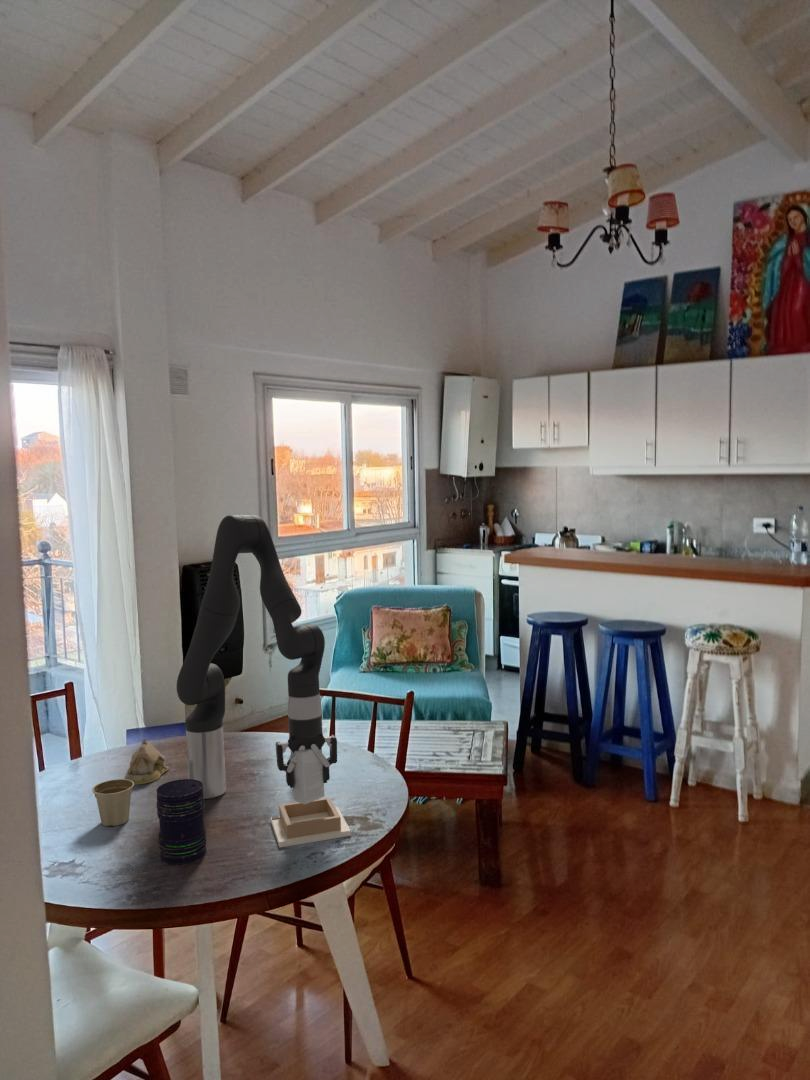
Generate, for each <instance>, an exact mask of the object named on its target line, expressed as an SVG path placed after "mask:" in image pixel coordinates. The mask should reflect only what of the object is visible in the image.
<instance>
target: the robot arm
mask: <svg viewBox="0 0 810 1080" xmlns="http://www.w3.org/2000/svg"><path fill="white" fill-rule="evenodd" d="M239 554H252V555H253V556H254V557H255V559H256V560H257V562H258V564H259V567H260V568H259V569H260V581H259V594H260V597H261V600H262V603H263V605H264V606H265V608H266V611H267V612H268V614H269V617H270V618H271V620H272V624H273V629H274V635H275V640H276V645H277V648H278V651H279V653H280V654H281V655H282V656H283V657H284V658H285V659H287V660H290V661H291V660H293V661H294V660H298V659H300V662H299V664H297V665H296V666H295V667H293V668H291V669H290V670H289V671H288V672H287V692H288V693H287V694H288V697H287V698H288V699H287V715H288V733H289V735H288V739H287V741H284V742H280V741H277V742H275V756H276V766H277V768H278V771H280V772H282V771H283V772H285V783H286V784H287V786H288V787H289V788H290V789H293V788H294V782H293V771H292V770H293V768H294V766H295V764H297V759H296V758H297V753H296V754H295V755H294V757H293V758H292V757H291V754H290V755H289V756H288V757H289V758H288V760H287V762H286V763H285V761H284V753H286V751H287V748H289V750H290V752H291V751H292V752H293V753H295V751H297V752H298V751H304V750H305V749H312V750H313V751H314V752H315V754H316V755H317V756H318V758H319V759H320V760H321V762H322V763H323V778H324V784H327V783H328V781H330V779H331V778H330V777H331V776H330V766H332V765H333V764H336V763H338V739H337V737H336V736H335V735H334V734H331V735H329V736H324V733H323V732H324V731H323V711H322V699H321V693H320V678H319V677H320V672H321V671H320V670H321V668H322V667H321V666H322V661H323V657H324V653H325V645H326V640H325V639H326V638H325V635H324V633H323V630H322V629H321V628H320V626H318V625H316V624H304V625H301V626H296V627H294V626H293V623H294V622H296V621H298V619H300V617H301V616H302V607H301V606H300V604H299V601H298V600H297V597H296V595H295V594H294V593H293V591H292V589H291V587H290V584H289V583H288V580H287V578H286V576H285V574H284V572H283V568H282V566H281V563H280V558H279V556H278V553H277V550H276V547H275V544H274V541H273V538H272V534H271V533H270V530H269V527H268V525H267V522H265V520H264V519H263V518H262V517H260V516H258V515H255V514H229V515H226V516H225V517H223V518H222V520H221V521H220V522H219V525H218V528H217V532H216V537H215V543H214V547H213V553H212V560H211V566H210V571H209V574H208V579H207V584H206V586H205V591H204V594H203V597H202V601H201V604H200V608H199V612H198V615H197V620H196V625H195V627H194V630H193V634H192V638H191V640H190V643H189V647H188V650H187V653H186V655H185V658H184V661H183V663H182V665H181V667H180V671H179V672H178V676H177V680H176V694H177V697H178V698H179V700H180V701H181V703H183V704H184V705H185V706H186V705H187V706H194V705H195V708H194V710H192V712H190V714H189V715H188V716H187V717H186V718H185V736H186V753H187V754H186V755H187V758H186V759H187V762H186V763H187V774H188V775H187V777H188V778H187V779H194V780H198V781H201V782H202V783H203V792H204V800H205V799H207V800H208V799H213V798H216V797H220V796H222V795H223V794H225V793H226V792H227V780H226V779H227V778H226V763H225V760H226V759H225V758H226V757H225V745H224V725H223V724H224V723H223V721H224V718H225V713H226V683H225V675H224V674H223V671H222V669H221V668H220V667H219V666H218V665H217V664H215V663H211V662H212V660H213V659H214V656H216V654H217V653H218V651H219V650H220V648H221V647H222V646H223V644H224V643H225V641H227V639H228V638H229V637H230V635H231V633H232V632H233V630H234V628H235V624H236V622H237V618H238V615H239V613H240V607H241V597H240V593H239V589H238V588H237V587H238V586H237V585H236V581H235V577H234V570H235V564H236V561H237V558H238V555H239ZM325 743H326V744H327V747H329V757H327V758H326V756H325V755H324V753H323V752H322V753H321V751H320V750H321V748H322V749H323V746H324V745H325Z"/></svg>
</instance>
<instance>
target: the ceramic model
mask: <svg viewBox="0 0 810 1080" xmlns="http://www.w3.org/2000/svg"><path fill="white" fill-rule="evenodd" d="M166 760H167V759H166V756H164V754H162V753H161V752H160V751H159V750H158V749H157V748H155V747H154V746H153V745H152V743H150V742H149V741H148V739H142V740H141V744H140V746H139V747H138V748H137V750H136V751H134V752H133V753H132V755H131V759H130V763H129V768H128V769H127V771H126V773H125V779H127V780H131V781H133V782H134V786H135V785H145V784H149V783H152V782H155V781H157V780H158V779H160V778H161V776H162V775H164V774H165V773H166V772H168V771H169V770H170V769H169V766H167V765H165V762H166Z"/></svg>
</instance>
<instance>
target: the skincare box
mask: <svg viewBox="0 0 810 1080" xmlns="http://www.w3.org/2000/svg"><path fill="white" fill-rule="evenodd" d="M320 751H321V753H323V747H322V748H321V750H320ZM296 753H297V758H296V759H297V764H295V766H294V768H293V770H292V771H293V782H294V788H292V793H293V795H292V796H293V801H295V802H299V803H302V804H304V805H305V804H307V803H310V802H312V801H315V800H317V799H321V798H325V783H324V778H323V763H322V762H321V760H320V759H319V758H318V756H317V755H316V754H315V752H314V751H313V750H312V749H305V750H304V751H298V752H297V751H295V753H293V752H292V751H291V750H290V755H291V757H292V758H293V757H294V755H295V754H296Z"/></svg>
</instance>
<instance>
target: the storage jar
mask: <svg viewBox="0 0 810 1080" xmlns="http://www.w3.org/2000/svg"><path fill="white" fill-rule="evenodd" d="M205 807H206V806H205V799H204V792H203V783H202V782H201V781H198V780H194V779H188V778H184V779H183V778H182V779H176V780H175V779H174V780H171V781H168V782H165V783H163V784H161V785H159V786H157V788H156V810H157V811H156V814H157V818H158V820H159V832H158V838H157V839H158V848H159V853H160V857H159V858H160V862H161V863H162V864H164V865H167V866H170V867H171V866H172V867H178V866H179V867H180V866H186V865H187V866H189V865H190V864H194V863H196V862H198V861H201V860H202V859H203V858H204V857H206V855H207V852H208V850H207V827H206V825H205V818H204V817H205V816H204V812H205Z"/></svg>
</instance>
